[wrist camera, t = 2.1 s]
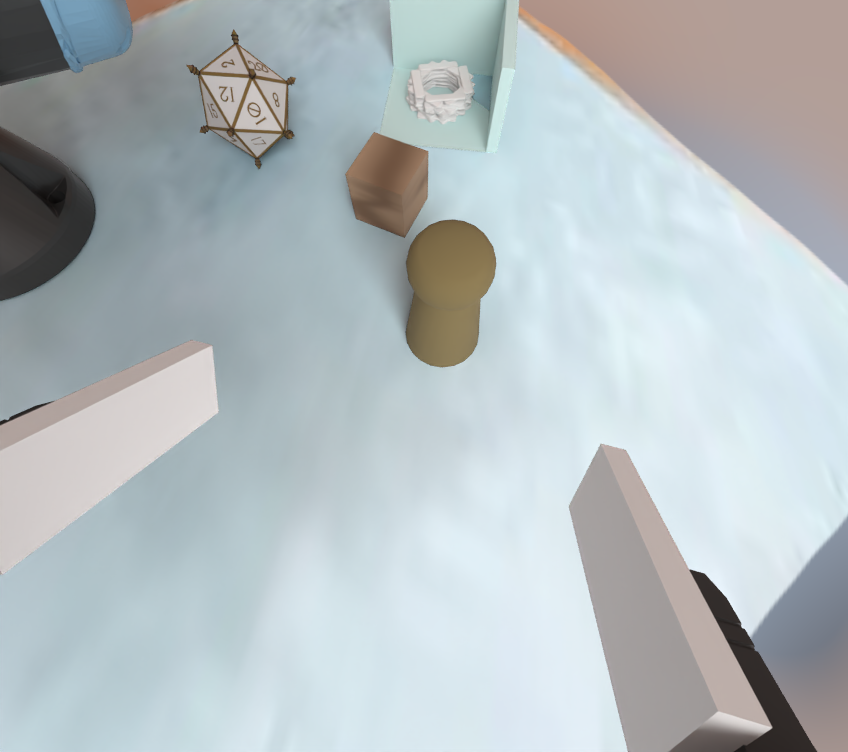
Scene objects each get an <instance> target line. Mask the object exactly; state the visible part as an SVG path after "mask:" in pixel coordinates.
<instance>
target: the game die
mask: <svg viewBox="0 0 848 752" xmlns="http://www.w3.org/2000/svg"><path fill="white" fill-rule="evenodd" d="M231 36H232V40H233V42H234V44H233V45H232V46H231V47H230V48H228V49H227V50H226V51H224V52H223V53H222V54H221V55H219V56H218V57H217V58H215V59H214V60H213V61H212V62H210V63H209V64H208V65H206V66H205V67H204V68H203V69H201V70H200V71H199V70H198V69H197V67H194V65H187V67H188V68H189V70H190V72H191V73H194V75H195V74H196V75H198V78H199V84H200V89H201V95H202V100H203V106H204V111H205V117H206V123H207V125H206V126H204V125H203V127H201V129H200V132H201V133H206V132H208V130H209V129H210V130H211V131H213V132H215V133H216V134H218V135H219V136H221V137H223V138H224V139H226V140H227V141H229V142H230V143H232V144H234V145H235V146H237V147H238V148H240V149H242V150H243V151H245V152H246V153H248V154H249V155H251V156H253V157H254V158H255V159H256V160H255V162H256V164H255V165H256V166H257V167H258V168H260V166H261V165H262V164H261V163H260V162H261V161H260V160H259V158H260V157H261V156H262V155H263V154H264V153H265V152H266V151H268V150H269V149H270V148H271V147H272V146H273V145H274V144H275V143H276V142H277V141H279V140H280V139H281V138H282V137H283V136H284V135H285V137H287V139H290V138H291V139H293V138H292V136H294V134H293V132H292V131H290V130H288V85H292V84H293V83H294V82H295V79H296V78H294V77H290V78H288V80H287V81H285V80H284V79H283V78H281V77H280V76H279V75H277V74H276V73H275V72H274V71H272V70H271V69H270V68H268V67H267V66H266V65H264V64H263V63H262V62H261V61H259V60H258V59H257V58H255V57H254V56H253V55H251V54H250V53H249V52H248V51H246V50H245V49H244V48H242V47H241V46H240V45H239V44H238V41H239V39H238V35H237V34H236V32H235V30H234V29H233V32H232V35H231Z"/></svg>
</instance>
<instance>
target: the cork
mask: <svg viewBox="0 0 848 752" xmlns="http://www.w3.org/2000/svg"><path fill="white" fill-rule="evenodd" d="M406 266H407V274H408V280H409V282H410V284H411V286H412V288H413V290H414V295H413V300H412V305H411V309H410V314H409V319H408V324H407V329H406V337H407V343H408V345H409V347H410V349H411V351H412V353H413V354H414V355H415V356H416V357H417V358H418V359H420V360H421V361H423V362H425V363H427V364H429V365H432V366H437V367H448V366H454V365H457V364H459V363H461V362H463V361H465V360H466V359H467V358H468V357H469V356H470V355H471V354H472V353H473V351H474V349H475V347H476V345H477V342H478V335H479V317H480V299H481V298H482V297H483V296H484V295H485V294H486V293H487V291H488V289H489V287H490V285H491V284H492V282H493V279H494V276H495V269H496V257H495V253H494V249H493V246H492V244H491V243H490V241H489V240H488V238H487V237H486V235H485V234H484V233H483V232H482V231H481V230H479V229H478V228H477V227H476V226H474V225H471V224H469V223H467V222H465V221H458V220H444V221H439V222H436V223H434V224H431V225H429V226H428V227H427V228H425V229H424V230H423V231H422V232H420V233H419V234H418V235H417V236H416V238H415V239H414V241H413V242H412V244H411V246H410V249H409V252H408V256H407V261H406Z"/></svg>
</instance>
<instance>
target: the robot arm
mask: <svg viewBox="0 0 848 752" xmlns="http://www.w3.org/2000/svg"><path fill="white" fill-rule="evenodd" d="M132 35H133V30H132V22H131V18H130V14H129V10H128V7H127V4H126V1H125V0H0V86H2V85H6V84H11V83H15V82H19V81H23V80H27V79H31V78H35V77H40V76H44V75H48V74H52V73H56V72H60V71H64V70H69V69H71V70H72V71H73V72H75V73H79V72H81V71H83V67H84V66H86V65H89V64H93V63H96V62H99V61H102V60H106V59H109V58H112V57H116V56H119V55H121V54H123V53H124V52H126V51H127V49H128V48H129V46H130V44H131V42H132ZM94 213H95V209H94V201H93V198H92V195H91V193H90V191H89V189H88V188H87V186H86V185H85V184H84V183H83V182H82V181H81V180H80V179H79V178H78V177H77V176H76V175H75V174H74V173H73V172H71V171H70V170H69V169H68V168H67V167H66V166H65V165H64V164H63V163H62V162H60V161H59V160H58V159H56V158H55V157H53V156H52V155H50V154H49V153H47V152H45V151H43V150H42V149H40V148H38V147H36V146H34V145H33V144H31V143H29V142H27V141H25V140H24V139H22V138H20V137H18V136H16V135H15V134H13V133H11V132H9V131H8V130H6V129H4V128H2V127H0V300H4V299H8V298H12V297H15V296H18V295H20V294H23V293H25V292H27V291H30V290H32V289H34V288H36V287H38V286H39V285H41V284H43V283H45V282H46V281H48V280H49V279H51V278H52V277H54V276H55V275H56V274H58V273H59V272H60V271H61V270H62V269H64V268H65V267H66V266H67V265H68V264H69V263H70V262H71V261H72V260H73V259H74V257H75V256H76V255H77V254H78V253H79V251H80V250H81V248H82V247H83V245H84V244H85V242H86V240H87V238H88V236H89V234H90V232H91V229H92V226H93V221H94ZM218 412H219V411H218V400H217V390H216V379H215V369H214V358H213V348H212V345H210V344H206V343H202V342H198V341H194V340H190V341H188V342H186V343H184V344H181V345H179V346H177V347H175V348H172V349H170V350H168V351H166V352H163V353H161V354H159V355H157V356H154V357H152V358H150V359H148V360H146V361H143V362H141V363H139V364H137V365H134V366H132V367H130V368H128V369H125V370H123V371H121V372H119V373H116V374H114V375H112V376H110V377H108V378H105V379H103V380H101V381H99V382H96V383H94V384H92V385H90V386H87V387H85V388H83V389H81V390H79V391H76V392H74V393H72V394H70V395H67V396H65V397H63V398H61V399H58V400H56V401H52V402H48V403H45V404H41V405H37V406H34V407H32V408H30V409H27V410H25V411H23V412H21V413H18V414H16V415H14V416H11V417H10V419H9V420H2V421H0V574H2V575H3V574H4V573H6V572H7V571H8V570H10V569H11V568H12V567H14V566H15V565H16V564H18V563H19V562H20V561H22V560H23V559H24V558H26V557H27V556H28V555H30V554H31V553H32V552H34V551H35V550H36V549H38V548H39V547H40V546H42V545H43V544H44V543H46V542H47V541H48V540H50V539H51V538H52V537H54V536H55V535H56V534H58V533H59V532H60V531H62V530H63V529H64V528H66V527H67V526H68V525H70V524H71V523H72V522H74V521H75V520H76V519H78V518H79V517H80V516H82V515H83V514H84V513H85V512H87V511H88V510H89V509H91V508H92V507H93V506H95V505H96V504H97V503H99V502H100V501H101V500H103V499H104V498H105V497H107V496H108V495H109V494H111V493H112V492H113V491H115V490H116V489H117V488H119V487H120V486H121V485H123V484H124V483H125V482H127V481H128V480H129V479H131V478H132V477H133V476H135V475H136V474H137V473H139V472H140V471H141V470H143V469H144V468H145V467H147V466H148V465H149V464H151V463H152V462H153V461H155V460H156V459H157V458H159V457H160V456H161V455H163V454H164V453H165V452H167V451H168V450H169V449H171V448H172V447H173V446H175V445H176V444H177V443H178V442H180V441H181V440H182V439H184V438H185V437H186V436H188V435H189V434H190V433H192V432H193V431H194V430H196V429H197V428H198V427H200V426H201V425H202V424H204V423H205V422H206V421H208V420H209V419H210V418H212V417H213V416H214V415H216V414H217V413H218ZM569 510H570V514H571V518H572V522H573V526H574V530H575V535H576V539H577V543H578V547H579V551H580V555H581V559H582V564H583V568H584V572H585V576H586V580H587V584H588V588H589V592H590V597H591V601H592V605H593V609H594V613H595V617H596V621H597V626H598V630H599V634H600V638H601V642H602V646H603V650H604V655H605V659H606V663H607V667H608V671H609V675H610V679H611V683H612V688H613V692H614V696H615V700H616V704H617V708H618V712H619V717H620V721H621V725H622V729H623V733H624V737H625V741H626V746H627V750H628V752H817V751H816V749H815V748H814V746H813V745H812V743H811V741H810V740H809V738H808V736H807V735H806V733H805V731H804V730H803V728H802V726H801V725H800V723H799V721H798V719H797V718H796V716H795V714H794V712H793V711H792V709H791V707H790V705H789V704H788V702H787V701H786V699H785V697H784V695H783V694H782V692H781V690H780V688H779V687H778V685H777V683H776V682H775V680H774V678H773V677H772V675H771V673H770V671H769V670H768V668H767V666H766V665H765V663H764V661H763V659H762V658H761V656H760V654H759V653H758V652H757V651H755V650H754V644H753V642H752V641H751V639H750V637H749V636H748V634H747V632H746V630H745V629H743V628H742V627H741V622H740V620H739V618H738V617H737V615H736V613H735V612H734V610H733V608H732V607H731V605H730V603H729V601H728V600H727V598H726V597H725V596H724V595H723V594H722V592H721V591H720V590H719V589H718V588H717V587H716V586H715V585H714V584H713V582H712V581H711V580H710V579H709V578H708V577H707V576H706V575H705V574H704V573H700V572H697V571H693V570H689V569H688V567H687V565H686V563H685V561H684V559H683V557H682V555H681V554H680V552H679V550H678V548H677V546H676V544H675V542H674V540H673V538H672V537H671V535H670V533H669V531H668V529H667V527H666V525H665V523H664V521H663V520H662V518H661V516H660V514H659V512H658V510H657V508H656V506H655V504H654V503H653V501H652V499H651V497H650V495H649V493H648V491H647V489H646V487H645V485H644V484H643V482H642V480H641V478H640V476H639V474H638V472H637V470H636V468H635V467H634V465H633V463H632V461H631V459H630V457H629V455H628V453H627V451H626V450H623V449H619V448H616V447H612V446H608V445H604V444H601V445H600V447H599V448H598V450H597V452H596V454H595V456H594V458H593V460H592V462H591V464H590V466H589V468H588V470H587V472H586V474H585V476H584V478H583V480H582V482H581V483H580V485H579V487H578V489H577V491H576V493H575V495H574V497H573V499H572V501H571V503H570V505H569Z"/></svg>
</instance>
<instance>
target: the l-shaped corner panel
mask: <svg viewBox="0 0 848 752" xmlns="http://www.w3.org/2000/svg"><path fill="white" fill-rule="evenodd" d="M389 2H390V18H391V33H392V48H393V64H394V69H393V73H392V78H391V83H390V87H389V92H388V97H387V102H386V106H385V111H384V116H383V121H382V125H381V130H380V134H381V135H384V136H386V137H389V138H392V139H395V140H398V141H401V142H403V143H406V144H409V145H416V146H426V147H437V148H447V149H458V150H468V151H479V152H489V153H497V149H498V144H499V140H500V135H501V131H502V126H503V122H504V117H505V112H506V108H507V103H508V99H509V94H510V90H511V85H512V81H513V76H514V72H515V62H516V45H517V27H518V10H519V0H389ZM472 74H475V75H486V76H493V77H492V88H491V100H490V111H489V110H488V109H486V108H485V107H483V106H482V105H481V104H479V103H478V102H476V101H475V100H474V99H473V98H472V96H473V95H474V94H475V93H474V90H473V87H474V86H475V83H473V82H472V81H471V80H472V79H473V77H474V76H473V75H472Z"/></svg>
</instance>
